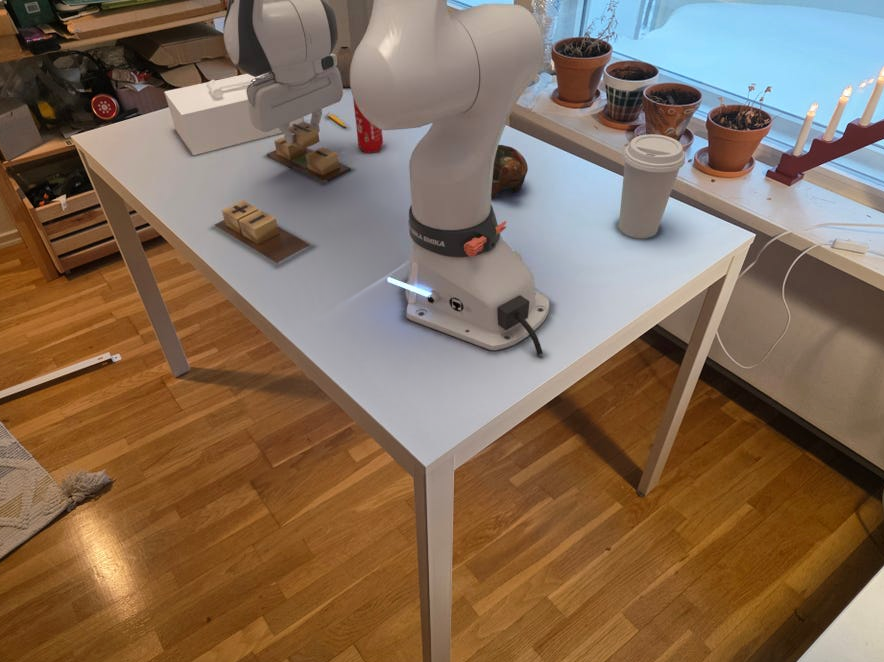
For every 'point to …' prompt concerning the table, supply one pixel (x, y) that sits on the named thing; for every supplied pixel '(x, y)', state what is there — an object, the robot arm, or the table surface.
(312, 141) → the wooden block
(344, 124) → the pencil
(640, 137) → the coffee cup
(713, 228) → the table surface
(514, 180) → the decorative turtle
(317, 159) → the strip
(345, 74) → the vase
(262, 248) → the strip
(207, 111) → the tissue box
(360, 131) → the beverage can
